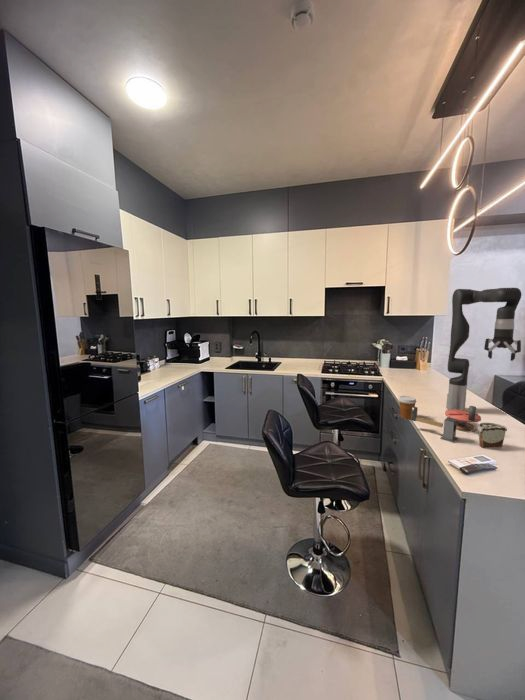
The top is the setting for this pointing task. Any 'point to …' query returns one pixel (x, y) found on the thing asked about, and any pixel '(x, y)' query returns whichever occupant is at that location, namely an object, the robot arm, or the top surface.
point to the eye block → (449, 430)
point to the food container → (491, 435)
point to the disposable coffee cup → (406, 406)
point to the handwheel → (464, 415)
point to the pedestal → (465, 427)
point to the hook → (415, 418)
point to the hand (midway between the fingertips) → (500, 359)
